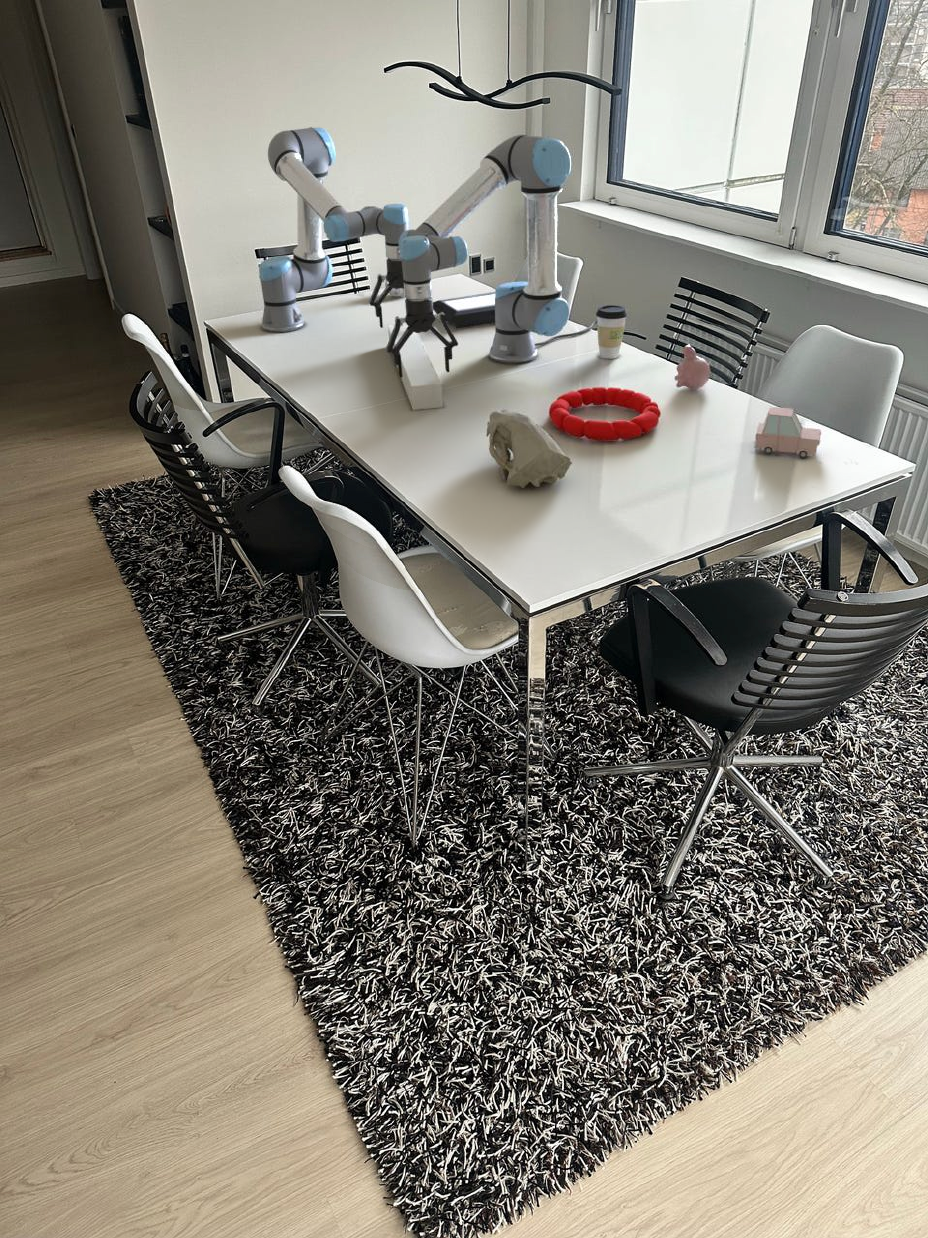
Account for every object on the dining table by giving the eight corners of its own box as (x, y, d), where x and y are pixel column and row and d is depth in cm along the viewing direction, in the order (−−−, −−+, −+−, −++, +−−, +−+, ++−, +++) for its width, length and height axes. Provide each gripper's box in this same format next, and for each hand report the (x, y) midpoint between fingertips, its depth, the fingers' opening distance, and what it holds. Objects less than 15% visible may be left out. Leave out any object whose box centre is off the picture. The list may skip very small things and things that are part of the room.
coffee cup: (626, 360, 285) (629, 312, 276) (595, 360, 285) (598, 313, 277) (622, 350, 293) (625, 303, 284) (592, 351, 293) (594, 304, 285)
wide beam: (389, 346, 304) (387, 325, 300) (414, 344, 305) (413, 323, 301) (412, 409, 255) (411, 386, 251) (442, 407, 256) (441, 383, 252)
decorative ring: (589, 435, 224) (684, 402, 234) (527, 398, 247) (617, 369, 256) (589, 461, 229) (683, 427, 238) (529, 422, 251) (617, 393, 260)
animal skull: (496, 517, 219) (521, 479, 201) (463, 429, 225) (484, 384, 207) (557, 503, 225) (586, 465, 206) (523, 417, 231) (549, 373, 212)
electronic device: (454, 313, 312) (432, 299, 327) (455, 331, 315) (433, 317, 330) (535, 300, 322) (510, 288, 337) (534, 318, 326) (510, 305, 341)
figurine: (665, 387, 264) (669, 347, 257) (693, 380, 268) (698, 340, 261) (686, 396, 257) (690, 355, 250) (714, 388, 262) (720, 348, 255)
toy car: (816, 461, 219) (824, 423, 213) (752, 454, 224) (758, 416, 218) (817, 446, 226) (825, 408, 221) (755, 439, 231) (761, 402, 225)
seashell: (379, 296, 357) (377, 270, 351) (412, 290, 362) (411, 264, 357) (389, 302, 349) (388, 275, 343) (423, 296, 355) (422, 270, 349)
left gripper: (359, 263, 278) (365, 331, 291) (438, 258, 282) (440, 325, 294) (357, 257, 284) (363, 324, 297) (435, 252, 288) (437, 318, 300)
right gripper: (374, 305, 239) (382, 382, 251) (465, 296, 242) (469, 372, 254) (371, 298, 245) (379, 373, 257) (461, 289, 248) (464, 364, 260)
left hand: (401, 325), depth 295 cm, fingers open, 13 cm apart
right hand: (424, 373), depth 256 cm, fingers open, 13 cm apart
